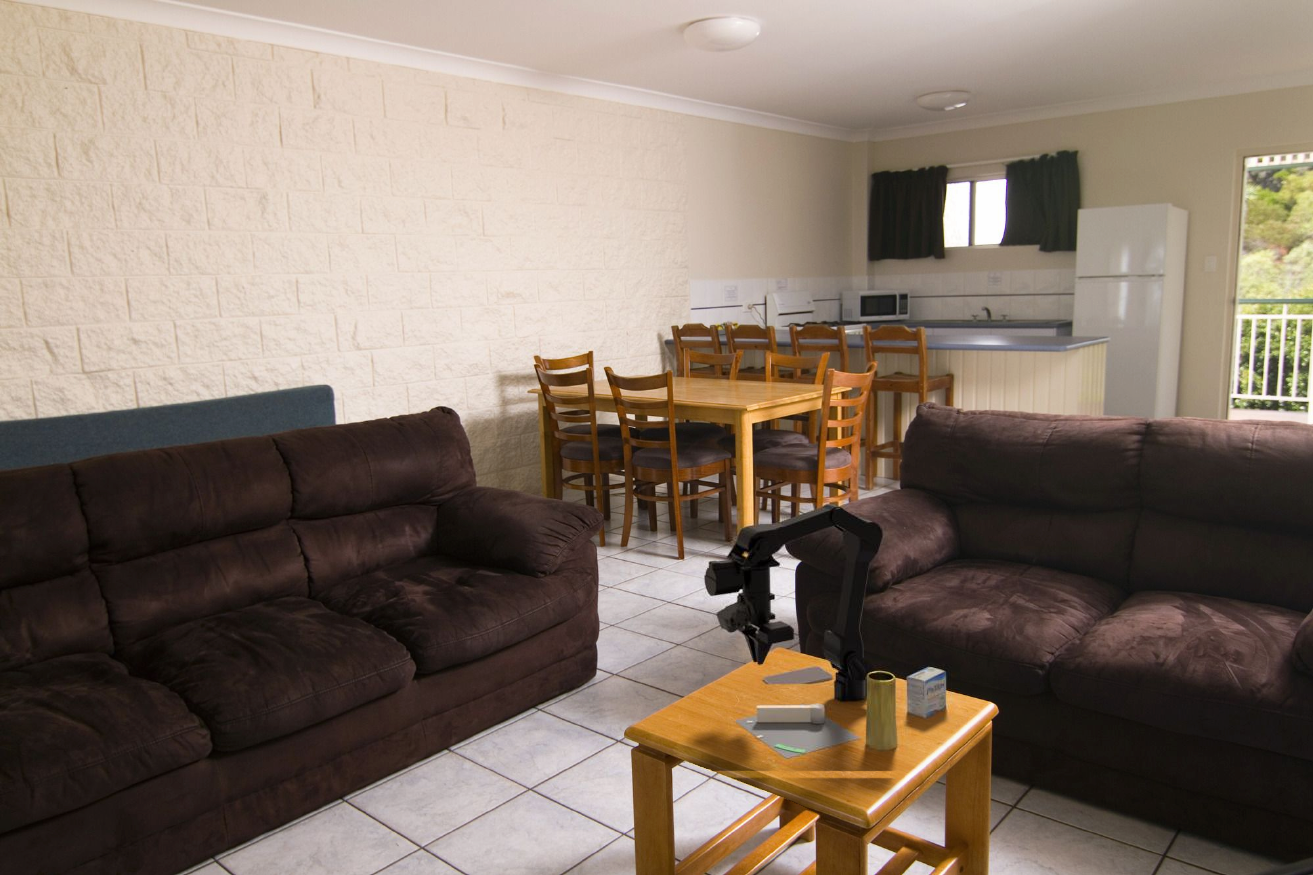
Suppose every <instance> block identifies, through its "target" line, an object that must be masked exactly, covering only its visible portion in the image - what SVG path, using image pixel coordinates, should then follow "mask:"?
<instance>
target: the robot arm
mask: <svg viewBox="0 0 1313 875" xmlns="http://www.w3.org/2000/svg"><path fill="white" fill-rule="evenodd" d="M832 527H833V528H835V529H836V530H837V531H839V532H841V533H842V546H843V547H842V548H843V550H844V553H845V558H846V561H845V566H844V567H845V568H844V574H843V580H842V586H841V592H840V598H839V606H838V612H837V616H836V617H837V618H836V622H835V625H834V627H832V629H831V630H826V629H825V631H824V637H823V644H822V645H821V649H823V656H824V657H825V659H826V660H827V662H829V663H830V665H831V668H832V669H835V670H836V671H837V672H835V674H834V675H835V680H834V681H833V686H834V687H833V688H834V689H833V690H834V691H833V693H834V694H833V696H834V697H833V698H834V699H836V700H837V701H839V702H842V703H844V702H845V703H847V702H854V703H855V702H861V701H863V700H865V699H866V698H867V674H868V673H870V672H874V671H875V668H874V666H872V664H870V663H869V662H868V661H867V660H866V659H865V658H864V642H863V639H862V634H861V631H860V626H861V622H862V621H861V620H862V615H863V607H864V601H865V595H866V591H867V590H866V588H867V582H868V579H869V578H868V575H869V570H870V564H871V562H872V561H873V560H874V558H875V557H876V555H878V553H879V552H880V551H879V550H880V548H881V545H882V541H883V537H884V531H883V528H881V526H880V524H878V523H877V522H874V521H871V520H869V519H866V518H862V517H859V516H856V515H854V514H852V513H851V512H849V511H847V510H845V508H843V507H842V506H839V505H836V504H833V503H826V504H824V505H823V506H821V507H819V508H816V509H813V510H811V511H807V512H804V513H801V514H799V515H795V516H793V517H791V518H787V519H783V520H782V521H778V522H775V523H760V524H759V523H758V524H753V525H746V526H745V527H743V528H741V529H740V530H739V533H738V535H737V537H736V542H734V545H733V546H732V548H731V549H730V551H729V553H728V555H727V556H726V559H725V560H710V561H709V560H708V567H707V568H706V570H705V573H704V574H705V575H704V578H703V581H704V586H705V589H706V591H707V594H708V595H709V596H711V597H717V596H721V595H728V594H729V595H731V594H736V593H737V594H738V595H736V602H734V603H731V604H729V605H726V606H725V607H724V608H723V609H721V610H719V611H717V612H716V614H715V615H716V619H717V620H718V623H719V626H720V628H721V629H723V630H725V631H727V632H728V633H735V632H736V631H738V632H739V633H740V634H741V635H743V636H744V638H745V642H746V643H747V647H748V651H749V653H750V656H751V658H752V659H751V660H752V663H757V665H758V666H761V665H763V664H764V662H765V661H766V658H767V657H768V654H769V652H770V650H771V649H772V646H773V645H775V644H778V643H784V642H789V641H794V639H795V629H794V628H793V627H792V626H791V625H789V624H788V623H785V622H783V621H781V620H779V621H774V620H776V614H775V613H774V612H772V604H771V603H772V601H774V600H775V599H776V597H775V596H776V595H775V594H774V593H772V592H771V568H777V567H779V566H781V563H780V562H779V561H777V559H775V558H774V556H773V555H774V554H776V553H777V552H779V551H781V549H782V548H783V547H784V546H785V545H788V544H789V543H791V542H794V541H796V540H799V539H802V538H805V537H808V536H809V535H813V534H815V533H818V532H820V531H824V530H827V529H831V528H832ZM743 554H746V555H747V556H744V555H743ZM740 590H741V591H742V592H740ZM771 621H773V622H771Z"/></svg>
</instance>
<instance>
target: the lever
mask: <svg viewBox="0 0 1313 875" xmlns="http://www.w3.org/2000/svg"><path fill="white" fill-rule="evenodd" d="M825 710H826V709H825V705H824V704H821V703H811V704H808V705H807V704H806V705H799V704H797V705H787V704H785V705H779V704H778V705H773V704H772V705H770V704H769V705H756V715H757V722H811V723H814V724H822V723H824V722H825V717H826V714H825Z"/></svg>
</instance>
